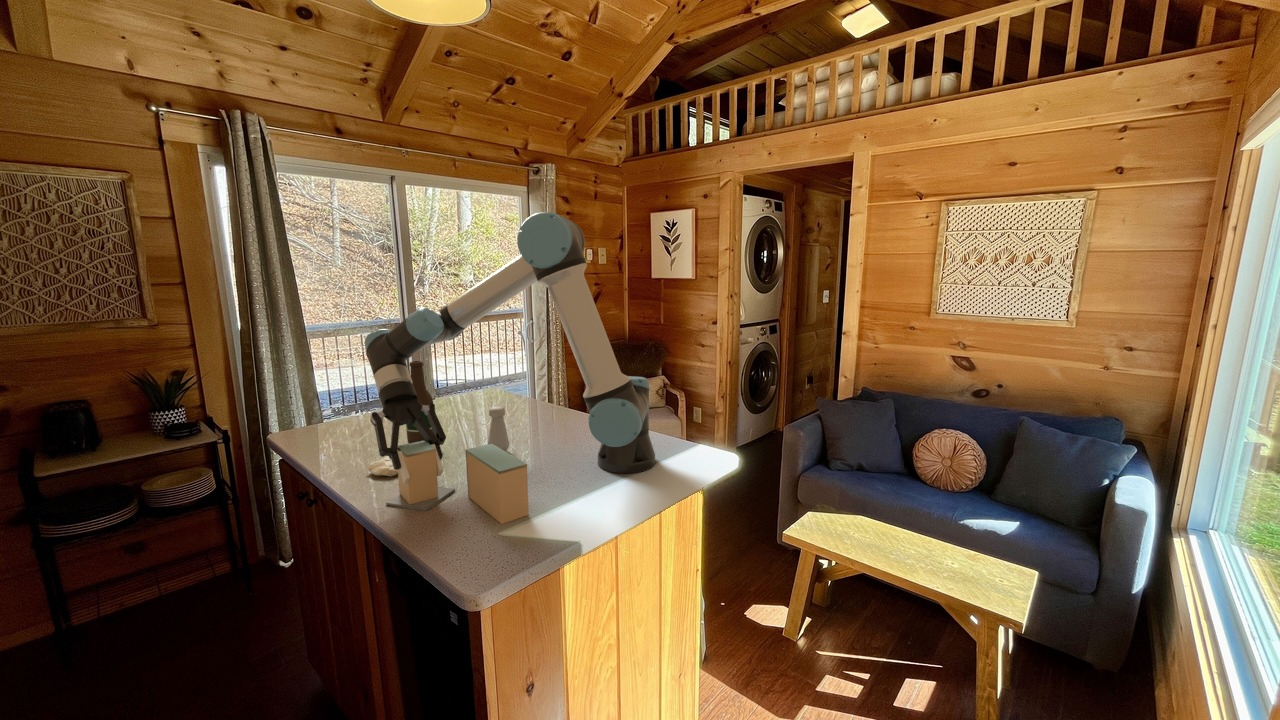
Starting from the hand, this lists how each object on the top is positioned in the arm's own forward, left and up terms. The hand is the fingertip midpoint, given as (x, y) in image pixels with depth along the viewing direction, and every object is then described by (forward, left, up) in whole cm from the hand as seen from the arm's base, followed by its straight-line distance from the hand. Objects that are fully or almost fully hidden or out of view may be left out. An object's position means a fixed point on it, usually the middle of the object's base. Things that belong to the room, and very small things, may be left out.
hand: (423, 476), depth 109 cm
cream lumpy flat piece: (+19, -19, -7) cm, 27 cm away
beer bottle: (+27, -34, -6) cm, 44 cm away
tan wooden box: (-15, -3, -6) cm, 17 cm away
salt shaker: (+1, -32, -6) cm, 33 cm away
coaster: (+3, -2, -6) cm, 7 cm away
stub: (+3, -2, -6) cm, 7 cm away
